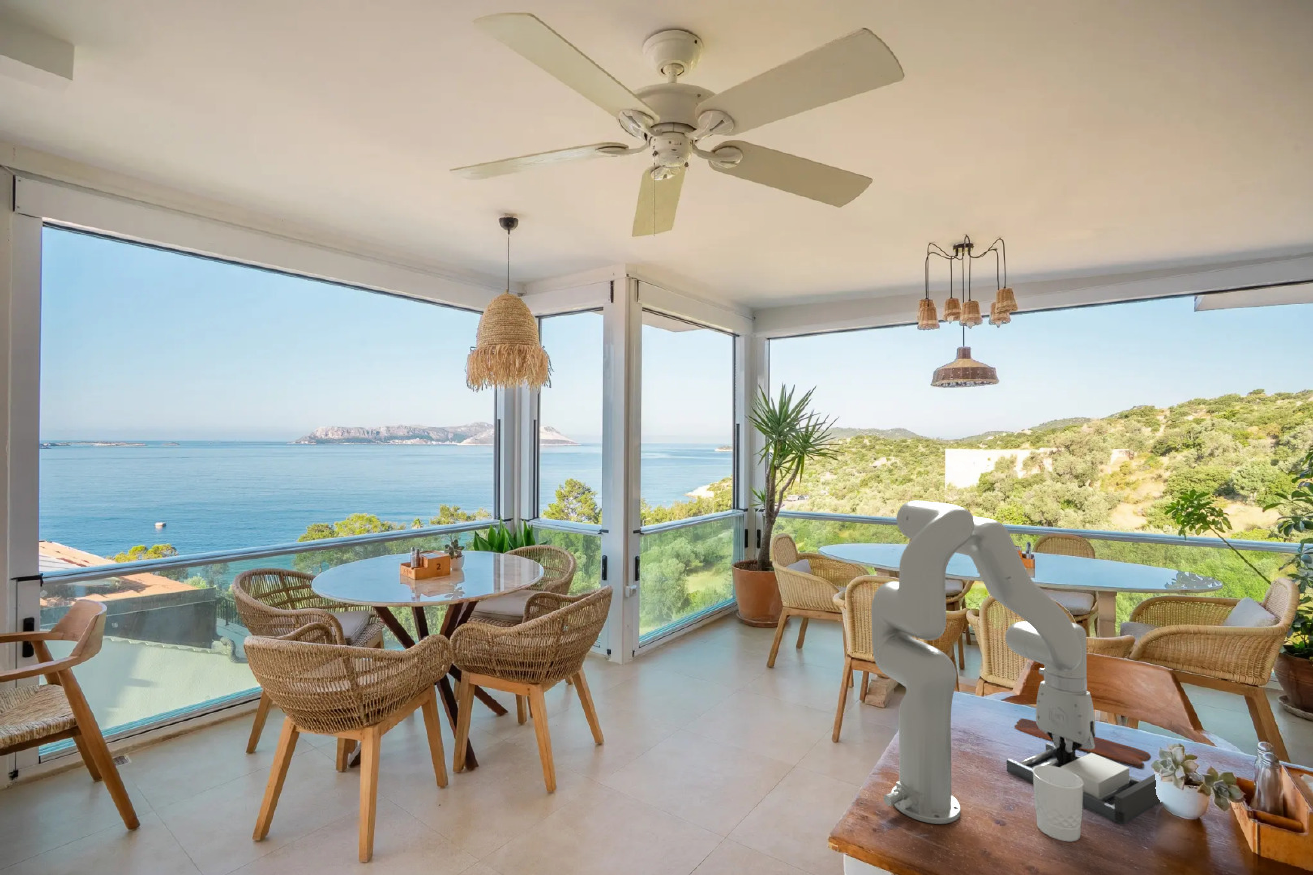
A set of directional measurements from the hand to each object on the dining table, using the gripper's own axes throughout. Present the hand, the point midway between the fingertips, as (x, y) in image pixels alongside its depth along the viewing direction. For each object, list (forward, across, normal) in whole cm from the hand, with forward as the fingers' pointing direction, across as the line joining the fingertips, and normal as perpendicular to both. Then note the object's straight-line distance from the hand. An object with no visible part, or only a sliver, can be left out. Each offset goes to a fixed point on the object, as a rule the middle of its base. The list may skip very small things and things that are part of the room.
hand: (1066, 766), depth 130 cm
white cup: (+3, +9, -20) cm, 22 cm away
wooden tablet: (+3, -8, +20) cm, 22 cm away
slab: (0, +6, 0) cm, 6 cm away
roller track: (+3, +3, 0) cm, 4 cm away
